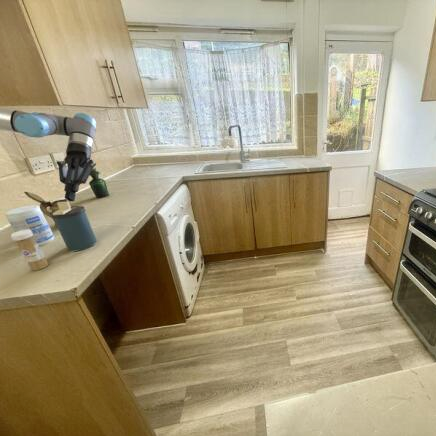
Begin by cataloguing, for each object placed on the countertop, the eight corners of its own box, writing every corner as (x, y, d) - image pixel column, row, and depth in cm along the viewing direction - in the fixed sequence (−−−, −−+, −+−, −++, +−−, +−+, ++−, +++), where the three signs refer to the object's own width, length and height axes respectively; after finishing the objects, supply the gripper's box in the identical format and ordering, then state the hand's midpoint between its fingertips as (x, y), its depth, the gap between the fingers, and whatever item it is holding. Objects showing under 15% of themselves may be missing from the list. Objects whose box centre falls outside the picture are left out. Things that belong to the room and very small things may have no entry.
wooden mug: (45, 225, 115) (26, 189, 108) (81, 217, 122) (65, 183, 115) (41, 232, 108) (21, 194, 101) (79, 223, 115) (63, 187, 108)
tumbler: (77, 241, 99) (61, 206, 93) (102, 239, 101) (89, 204, 95) (61, 254, 91) (43, 216, 84) (89, 251, 92) (74, 213, 86)
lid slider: (61, 210, 89) (58, 202, 87) (71, 209, 89) (68, 201, 88) (53, 215, 85) (49, 206, 83) (63, 214, 85) (59, 205, 84)
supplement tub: (45, 246, 96) (26, 212, 89) (17, 250, 94) (-4, 216, 88) (60, 235, 104) (44, 203, 98) (35, 238, 102) (17, 206, 96)
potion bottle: (94, 197, 154) (83, 168, 146) (109, 193, 159) (99, 166, 151) (95, 200, 148) (83, 170, 141) (111, 196, 153) (100, 168, 145)
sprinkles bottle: (28, 272, 80) (7, 236, 75) (35, 265, 84) (15, 230, 79) (46, 268, 82) (26, 233, 76) (51, 261, 86) (33, 227, 80)
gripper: (103, 152, 104) (95, 202, 95) (68, 154, 102) (57, 205, 93) (91, 141, 97) (81, 193, 88) (54, 142, 95) (41, 196, 86)
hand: (69, 199), depth 91 cm, fingers closed
